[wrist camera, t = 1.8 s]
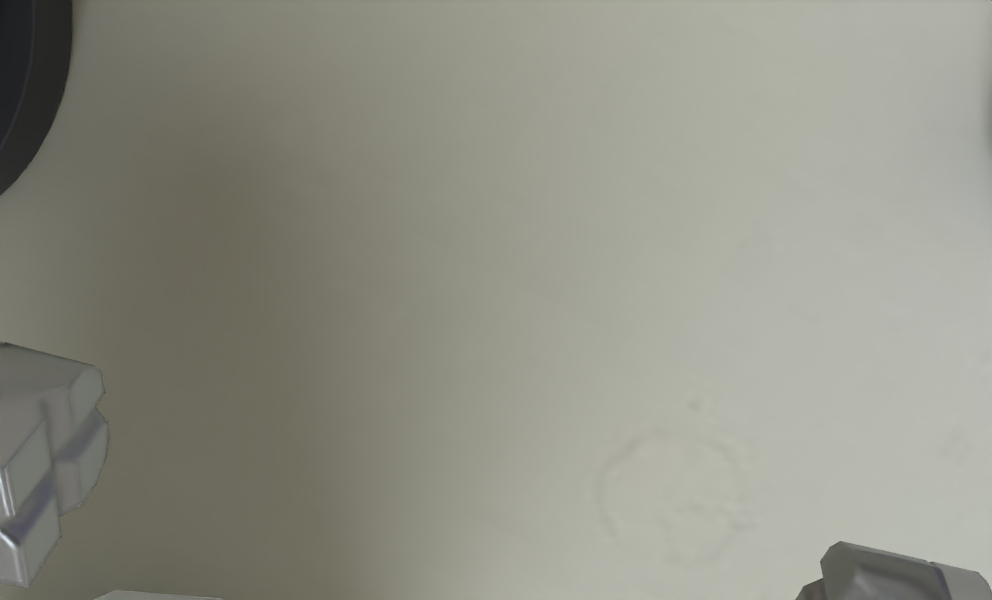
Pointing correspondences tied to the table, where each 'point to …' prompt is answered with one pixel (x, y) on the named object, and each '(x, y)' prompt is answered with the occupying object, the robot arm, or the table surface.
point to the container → (149, 596)
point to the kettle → (30, 77)
